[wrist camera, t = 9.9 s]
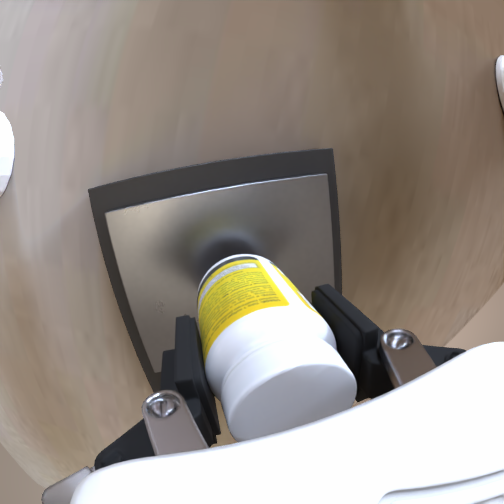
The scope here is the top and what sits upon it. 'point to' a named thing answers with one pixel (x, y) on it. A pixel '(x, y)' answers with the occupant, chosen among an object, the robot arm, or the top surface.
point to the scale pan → (217, 245)
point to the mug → (5, 149)
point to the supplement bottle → (267, 350)
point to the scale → (201, 180)
